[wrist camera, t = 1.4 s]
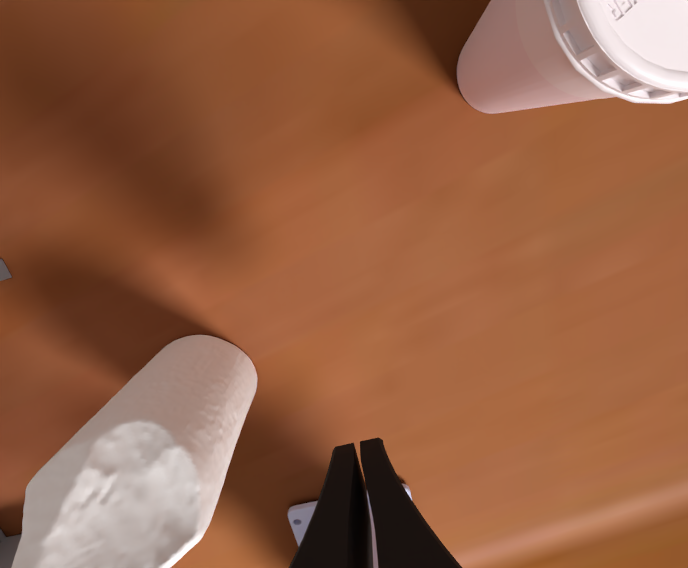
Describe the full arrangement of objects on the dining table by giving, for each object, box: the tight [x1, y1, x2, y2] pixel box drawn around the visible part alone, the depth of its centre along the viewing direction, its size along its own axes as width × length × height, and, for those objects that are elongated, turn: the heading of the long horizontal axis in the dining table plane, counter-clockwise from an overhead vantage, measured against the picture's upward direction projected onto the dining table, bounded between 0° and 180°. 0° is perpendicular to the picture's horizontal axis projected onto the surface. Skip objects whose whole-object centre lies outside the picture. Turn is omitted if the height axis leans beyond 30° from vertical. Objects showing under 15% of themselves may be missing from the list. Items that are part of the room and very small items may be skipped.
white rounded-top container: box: [11, 335, 257, 568], centre depth 14 cm, size 6×12×6 cm
